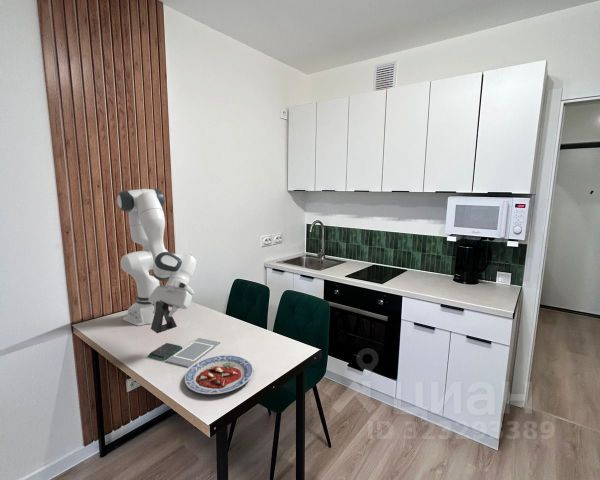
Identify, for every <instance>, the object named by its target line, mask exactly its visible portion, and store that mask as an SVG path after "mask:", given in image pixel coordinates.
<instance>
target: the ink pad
mask: <svg viewBox="0 0 600 480" xmlns="http://www.w3.org/2000/svg"><path fill="white" fill-rule="evenodd" d="M182 349H183V346H181V345H179V344H174V343H169V342H165V343H164V344H162V345H160V346H159V347H157V348H156V349H155V350H153V351H151V352H149V354H147V357H148V358H151V359H155V360H159V361H163V362H165V361H166V360H167V359H168V358H170V357H171V356H173V355H174V354H176V353H177V352H179V351H180V350H182Z"/></svg>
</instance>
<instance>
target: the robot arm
mask: <svg viewBox="0 0 600 480" xmlns="http://www.w3.org/2000/svg"><path fill="white" fill-rule="evenodd" d="M165 201H166V200H165V195H164V192H163V191H162V190H161V189H158V188H152V189H150V188H139V189H129V190H127V189H126V190H122V191H120V192H118V193H117V199H116V203H117V206H118V207H119V209H120V210H121V211H123V212H127V213H128V225H129V230H130V238H131V240H132V242H133V243H136V244H138V245H141V247H142V249H143V250H138V251H133V252H129V253H127V254H124V255H122V257H121V258H120V263H119V264H120V268H121V269H122V271H123V272H124V273H126V274H128V275H130V276H131V277H132V278H133V279H134V281H135V284H136V288H137V295H136V296H135V297H134V299H136V301H135V302H134V303H133V304H132V305H130V306H128V309H127V315H125V316H123V318H122V320H123V321H125V322H127V323H130V324H133V325H134V326H144V325H152V322H153V318H154V314H155V310H156V302H157V301H159V302H161V301H163V302H165V303H167V304H168V306H169V307H170V308H172V309H170V310H169V311H170V312H169V311H168V313H167V316H168V317H173V315H174V314H175V313H176V312H177V311H178V310H179V309H182V310H187V309H188V308H189V307H190V304H191V303H192V299H193V295H194V294H195V291H194V290H193V288H192V287H190V286H189V284H190V283H189V281H190V280H191V279H192V277H193V275H195V274H194V273H195V272H196V269H197V265H198V264H197V263H198V262H197V260H196V258H195V257H194V256H193V255H192V254H190V253H173V252H169V251H168V250H167V249H166V247H165V243H164V236H165V235H164V233H165V229H166V218H165V213H164V210H163V207H164V206H165V203H166V202H165ZM149 271H152V275H150V273H149ZM160 281H161V282H166V283H165V285H164V284H160ZM160 300H161V301H160ZM163 302H161V303H163ZM169 307H168V308H169ZM163 320H165V318H164V316H163Z"/></svg>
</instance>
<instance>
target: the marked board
mask: <svg viewBox="0 0 600 480" xmlns="http://www.w3.org/2000/svg"><path fill="white" fill-rule="evenodd" d="M220 344H221V342H220V341H215V340H212V339H211V340H210V339H207V338H206V339H205V338H202V337H198V338H197V339H195V340H194V341H192V342H191V343H189V344H188V345H186V346H185V347H182V349H181V350H180V351H178V352H177V353H175V354H174V355H172V356H171V357H169V358H168V359H167V360H165V361H164V362H165V363H167V364H171V365H172V364H173V365H177V366H180V367H181V366H182V367H185V368H189V369H190V368H191V367H192V366H193V365H195V363H197V362H199V360H201V359H202V358H203V357H204V356H206V355H207V354H208V353H210V352H211V351H212V350H213V349H215V348H216V347H217V346H219V345H220Z"/></svg>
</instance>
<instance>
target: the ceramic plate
mask: <svg viewBox="0 0 600 480" xmlns="http://www.w3.org/2000/svg"><path fill="white" fill-rule="evenodd" d="M253 374H254V367H253V364H252V362H250V361H249V360H247V359H246V358H243V357H241V356H238V355H237V356H236V355H228V354H227V355H217V356H212V357H208V358H205V359H203V360H200V361H198V362H196V364H195V363H194V364H193V365H191V366H190V367H189V369H188V370H187V372H186V373H185V375H184V383H185V385H186V386H187V388H188V389H190V390H191V391H193V392H195V393H198V394H203V395H219V394H220V395H221V394H225V393H228V392H229V393H230V392H232V391H234V390H237V389H239V388H241V387H242V386H244V385H245V384H247V382H248V381H250V379H251V378H252V376H253Z"/></svg>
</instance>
